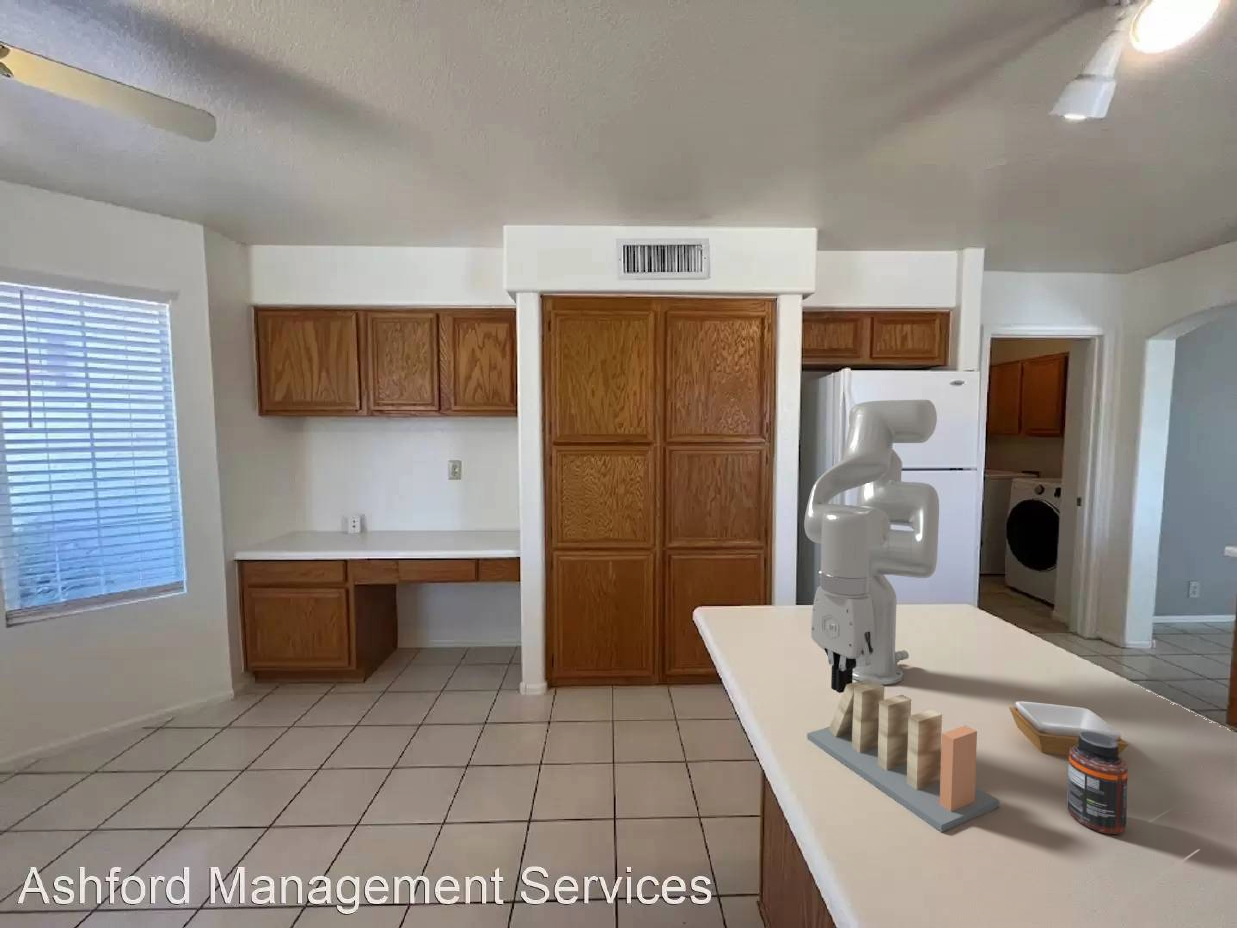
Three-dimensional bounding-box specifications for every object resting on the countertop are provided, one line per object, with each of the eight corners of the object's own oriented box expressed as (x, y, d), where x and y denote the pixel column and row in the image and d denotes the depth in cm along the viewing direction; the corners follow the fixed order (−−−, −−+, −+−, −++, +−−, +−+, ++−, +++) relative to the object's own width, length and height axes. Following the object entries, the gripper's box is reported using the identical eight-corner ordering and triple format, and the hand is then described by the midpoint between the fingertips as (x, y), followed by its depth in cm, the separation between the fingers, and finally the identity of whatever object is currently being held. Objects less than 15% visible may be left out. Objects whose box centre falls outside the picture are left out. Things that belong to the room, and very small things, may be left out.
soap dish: (1037, 757, 88) (1039, 726, 87) (1007, 725, 97) (1008, 698, 97) (1127, 766, 85) (1129, 735, 85) (1087, 733, 95) (1088, 705, 94)
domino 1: (850, 722, 95) (868, 678, 91) (857, 730, 93) (876, 685, 90) (828, 729, 93) (846, 684, 89) (835, 736, 91) (853, 691, 88)
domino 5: (963, 794, 77) (965, 725, 76) (974, 801, 75) (977, 730, 75) (939, 804, 74) (941, 733, 74) (950, 811, 73) (953, 739, 73)
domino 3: (900, 756, 86) (902, 694, 85) (909, 761, 84) (911, 699, 84) (877, 764, 84) (879, 700, 83) (886, 769, 82) (888, 705, 82)
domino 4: (929, 774, 81) (931, 709, 81) (939, 780, 80) (942, 714, 79) (906, 782, 79) (908, 716, 79) (916, 789, 78) (918, 721, 77)
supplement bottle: (1111, 811, 75) (1115, 731, 74) (1136, 841, 69) (1140, 755, 68) (1058, 801, 77) (1062, 723, 76) (1078, 830, 71) (1082, 746, 70)
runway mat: (858, 723, 97) (858, 718, 97) (998, 806, 75) (999, 799, 75) (807, 738, 92) (807, 733, 92) (941, 832, 71) (941, 824, 71)
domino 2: (873, 740, 90) (876, 681, 90) (881, 745, 89) (884, 686, 88) (851, 747, 88) (854, 687, 87) (859, 752, 87) (862, 691, 86)
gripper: (795, 575, 97) (794, 675, 98) (863, 598, 84) (860, 714, 85) (827, 571, 100) (825, 669, 101) (898, 592, 87) (895, 705, 88)
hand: (841, 689), depth 93 cm, fingers closed
